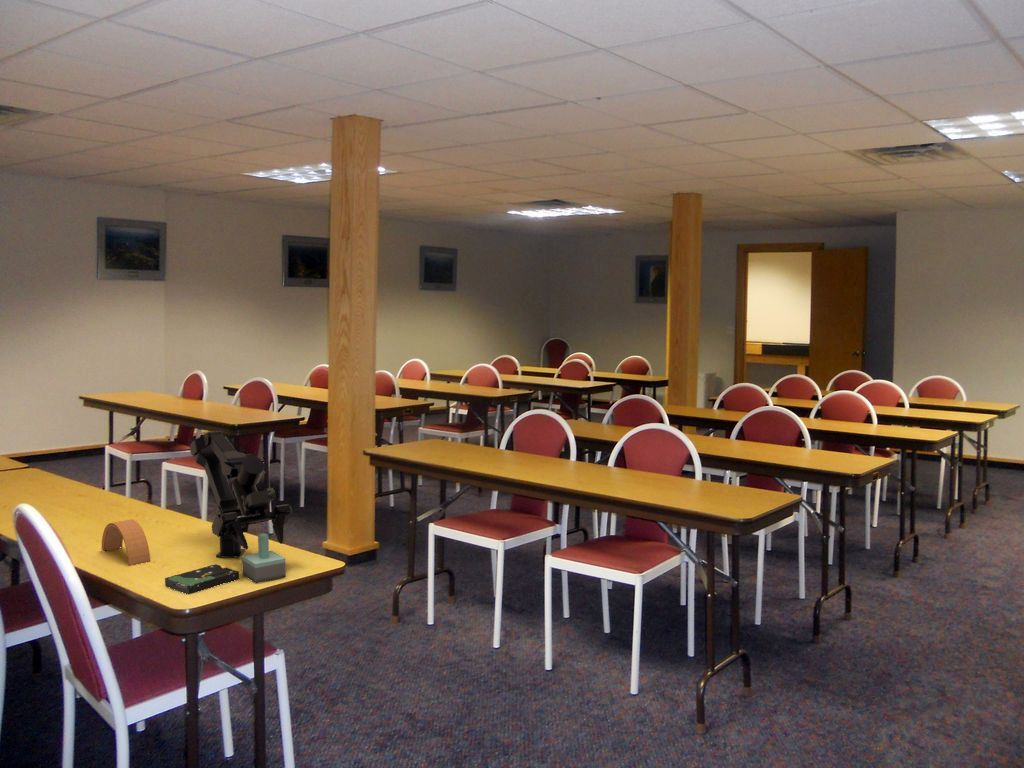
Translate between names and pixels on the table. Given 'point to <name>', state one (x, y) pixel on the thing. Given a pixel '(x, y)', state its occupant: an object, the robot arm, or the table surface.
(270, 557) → the lid
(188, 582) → the disk drive
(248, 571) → the tub
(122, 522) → the arch
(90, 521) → the table surface
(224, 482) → the robot arm
